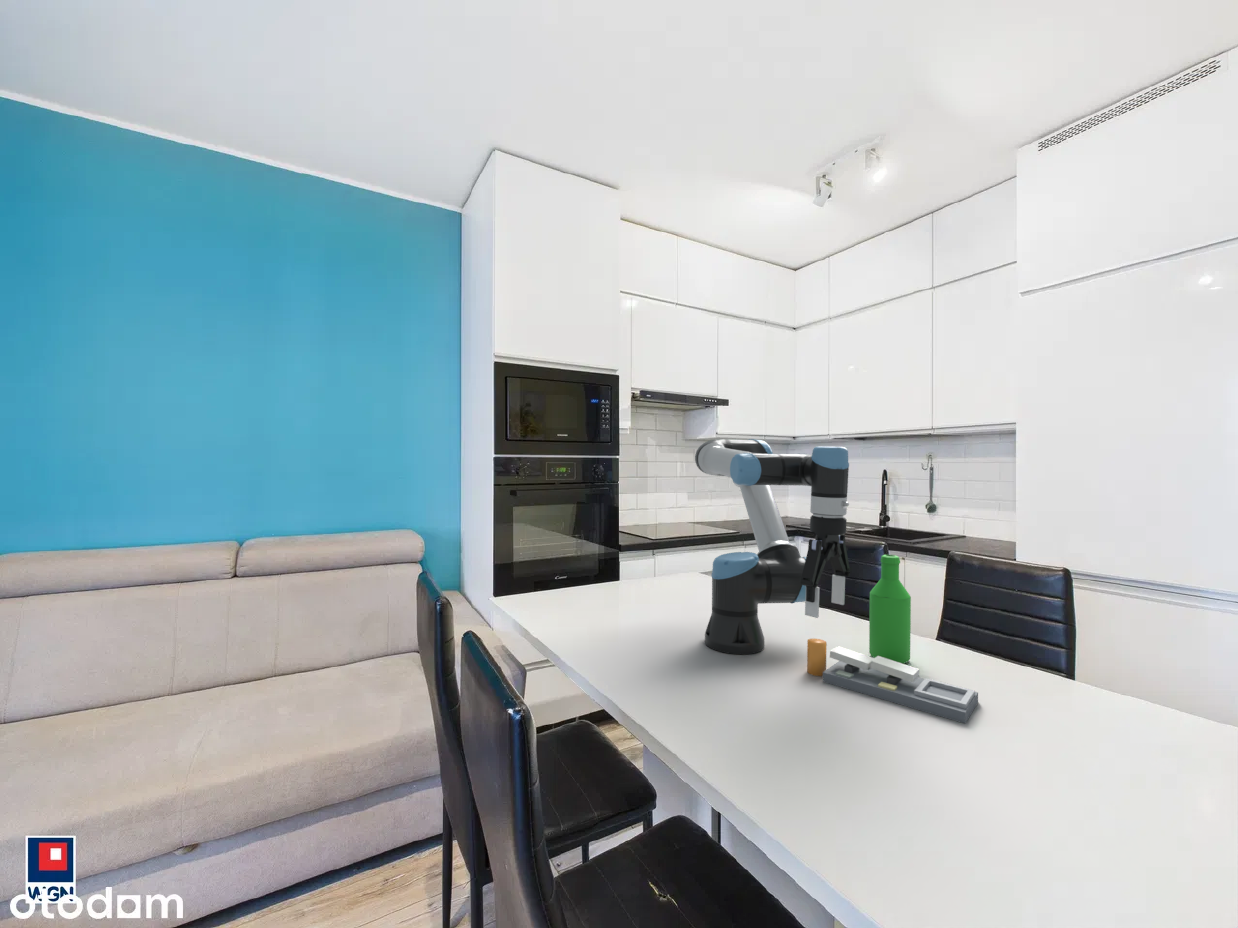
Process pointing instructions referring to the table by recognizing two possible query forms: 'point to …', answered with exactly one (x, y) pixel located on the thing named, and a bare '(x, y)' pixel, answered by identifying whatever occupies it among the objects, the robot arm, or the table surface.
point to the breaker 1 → (851, 657)
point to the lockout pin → (816, 656)
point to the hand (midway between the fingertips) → (825, 609)
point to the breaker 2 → (894, 668)
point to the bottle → (890, 614)
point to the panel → (906, 691)
